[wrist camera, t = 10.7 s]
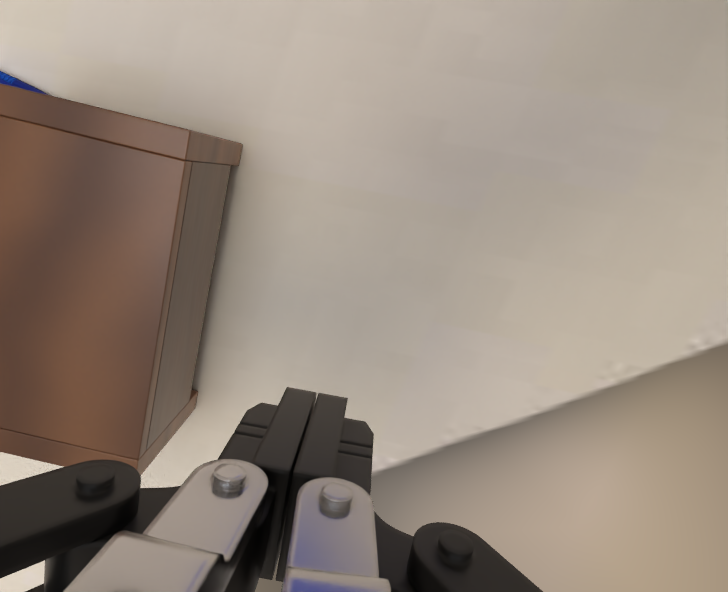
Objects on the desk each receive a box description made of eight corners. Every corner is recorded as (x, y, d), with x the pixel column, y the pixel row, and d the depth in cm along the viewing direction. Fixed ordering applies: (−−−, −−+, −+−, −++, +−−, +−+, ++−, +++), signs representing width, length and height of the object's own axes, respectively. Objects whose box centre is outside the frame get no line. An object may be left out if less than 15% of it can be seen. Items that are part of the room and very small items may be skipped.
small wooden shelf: (242, 144, 28) (190, 130, 20) (195, 408, 32) (134, 483, 24) (62, 99, 28) (-61, 67, 20) (33, 370, 32) (-80, 433, 24)
